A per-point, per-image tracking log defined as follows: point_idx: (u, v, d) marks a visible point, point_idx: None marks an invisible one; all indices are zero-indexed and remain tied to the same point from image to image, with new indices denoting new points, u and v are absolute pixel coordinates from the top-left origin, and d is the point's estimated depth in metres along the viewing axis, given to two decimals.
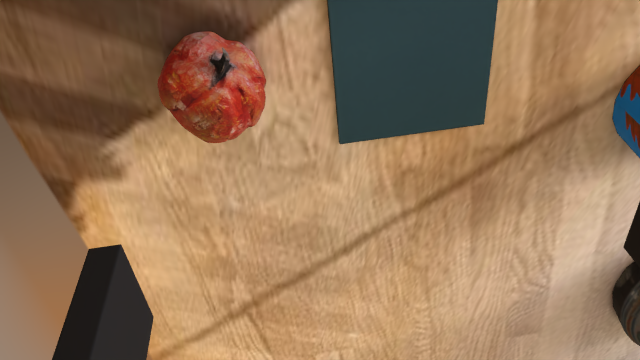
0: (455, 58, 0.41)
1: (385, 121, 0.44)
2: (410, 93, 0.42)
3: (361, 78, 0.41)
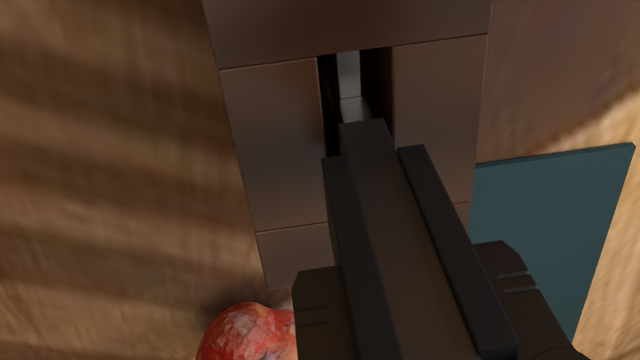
0: None
1: None
2: None
3: None
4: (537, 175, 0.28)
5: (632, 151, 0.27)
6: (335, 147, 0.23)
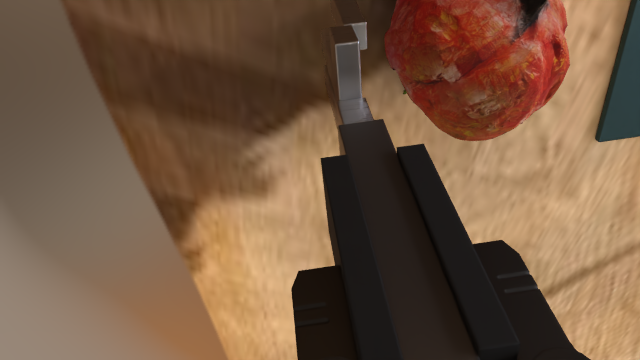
0: None
1: None
2: None
3: None
4: None
5: None
6: None
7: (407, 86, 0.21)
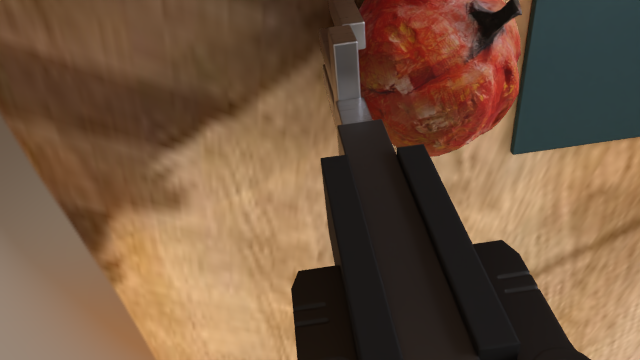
0: None
1: (587, 120, 0.28)
2: (638, 75, 0.27)
3: (569, 51, 0.26)
4: None
5: None
6: None
7: None
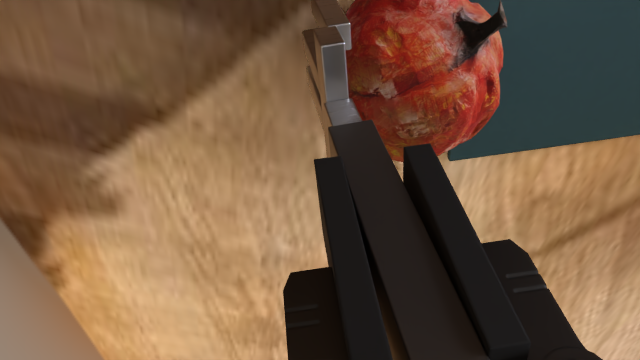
0: None
1: (523, 126, 0.28)
2: (570, 82, 0.27)
3: None
4: None
5: None
6: None
7: None
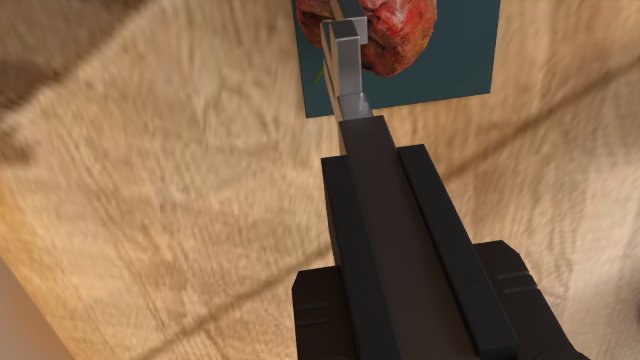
0: (453, 3, 0.31)
1: (363, 88, 0.34)
2: None
3: None
4: None
5: None
6: None
7: (401, 11, 0.25)
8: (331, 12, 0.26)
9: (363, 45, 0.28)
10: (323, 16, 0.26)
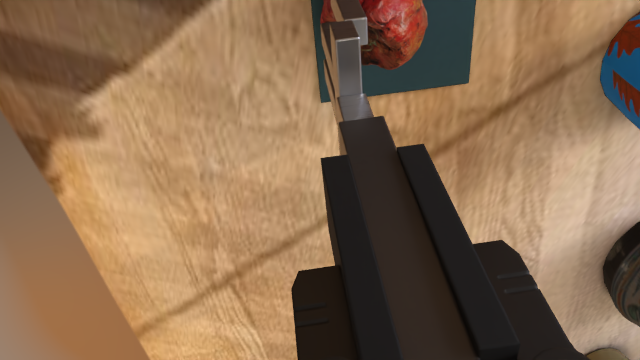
0: (438, 11, 0.40)
1: (367, 79, 0.43)
2: None
3: None
4: None
5: None
6: None
7: (405, 23, 0.34)
8: None
9: (372, 46, 0.37)
10: None
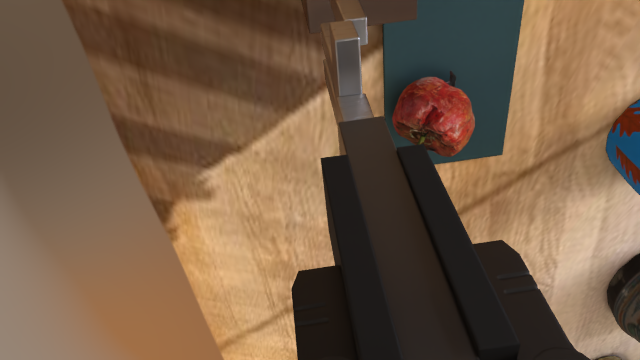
0: (481, 105, 0.52)
1: None
2: None
3: None
4: (467, 0, 0.45)
5: None
6: None
7: (458, 130, 0.45)
8: (418, 128, 0.46)
9: (431, 139, 0.49)
10: (411, 127, 0.47)
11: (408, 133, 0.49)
